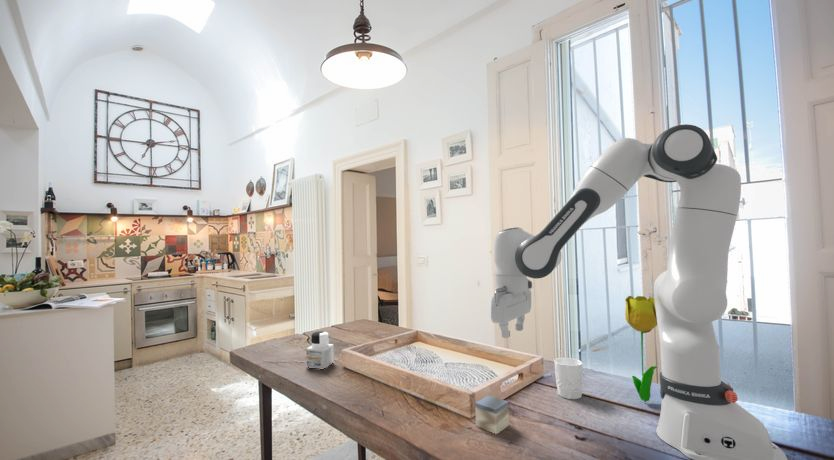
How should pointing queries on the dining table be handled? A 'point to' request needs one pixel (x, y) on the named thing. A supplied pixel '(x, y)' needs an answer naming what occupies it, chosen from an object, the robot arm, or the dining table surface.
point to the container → (320, 351)
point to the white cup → (568, 377)
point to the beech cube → (492, 414)
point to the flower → (644, 320)
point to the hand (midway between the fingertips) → (513, 333)
